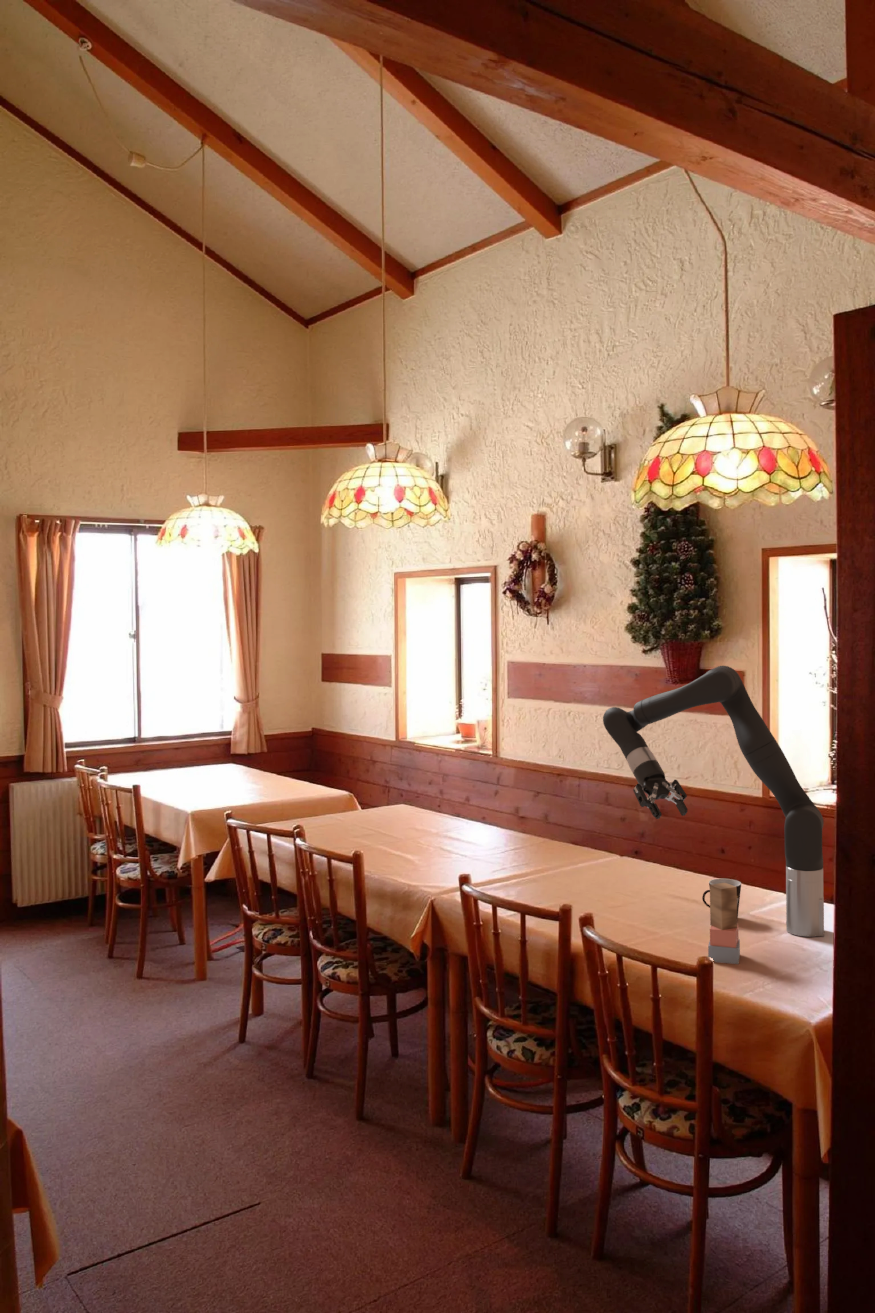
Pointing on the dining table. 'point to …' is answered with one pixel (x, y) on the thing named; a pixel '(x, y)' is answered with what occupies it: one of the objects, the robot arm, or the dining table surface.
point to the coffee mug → (728, 881)
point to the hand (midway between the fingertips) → (672, 815)
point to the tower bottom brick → (724, 953)
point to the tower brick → (724, 937)
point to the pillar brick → (723, 906)
